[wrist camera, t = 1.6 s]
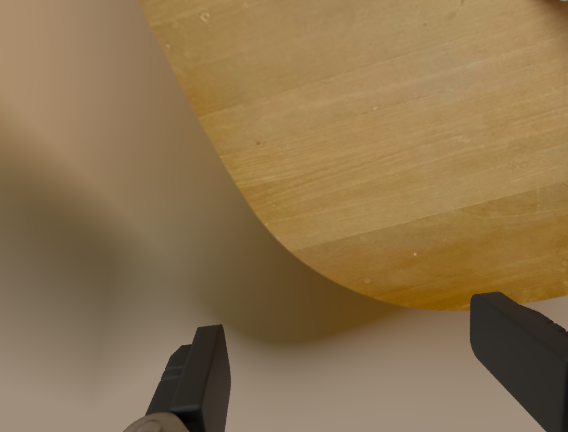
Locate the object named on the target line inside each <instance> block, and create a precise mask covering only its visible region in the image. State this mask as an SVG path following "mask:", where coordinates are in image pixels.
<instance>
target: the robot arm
mask: <svg viewBox="0 0 568 432" xmlns="http://www.w3.org/2000/svg"><path fill="white" fill-rule="evenodd" d="M470 343H471V347H472V350H473V352H474V354H475V356H476V357H477V359H478V360H479V361H480V362H481V363H482V364H483V365H484V366H485V367H486V368H487V369H488V370H489V371H490V373H491V374H492V375H493V376H494V377H495V378H496V379H497V380H498V381H499V382H500V383H501V384H502V385H503V386H504V387H505V388H506V389H507V391H508V392H510V394H511V395H512V396H513V397H514V398H515V399H516V400H517V401H518V402H519V403H520V404H521V405H522V406H523V407H524V409H525V410H526V411H527V412H528V413H529V414H530V415H531V416H532V417H533V418H534V419H535V420H536V421H537V422H538V423H539V424H540V425H541V427H543V429H544V430H545V431H546V432H568V332H566V330H565V329H564V328H562V327H561V326H559V325H558V324H556V323H553V321H552V320H550V319H549V318H547V317H545V316H544V315H543V314H541V313H539V312H537V311H535V310H532V309H529V308H527V307H524V306H522V305H519V304H517V303H516V302H514V301H513V300H511V299H510V298H509V297H507V296H506V295H504V294H503V293H501V292H490V293H481V294H475V295H473V296H472V298H471V303H470ZM230 387H231V376H230V366H229V359H228V353H227V347H226V341H225V334H224V329H223V326H222V324H220V325H212V326H204V327H198V328H197V331H196V334H195V337H194V340H193V343H192V344H189V345H182V346H181V347H180V348H179V349H178V350H177V351H176V352H175V353H174V354H173V355H172V356H171V357H170V359H169V361H168V364H167V366H166V368H165V371H164V373H163V375H162V377H161V381H160V382H159V385H158V387H157V389H156V391H155V394H154V396H153V398H152V401H151V403H150V405H149V408H148V410H147V412H146V415H145V416H144V417H142V418H140V419H138V420H137V421H135V422H134V423H132V424H131V425H130V426H128V427H127V428H126V429H125V430H124V431H123V432H224V431H225V424H226V417H227V409H228V403H229V396H230Z"/></svg>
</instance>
